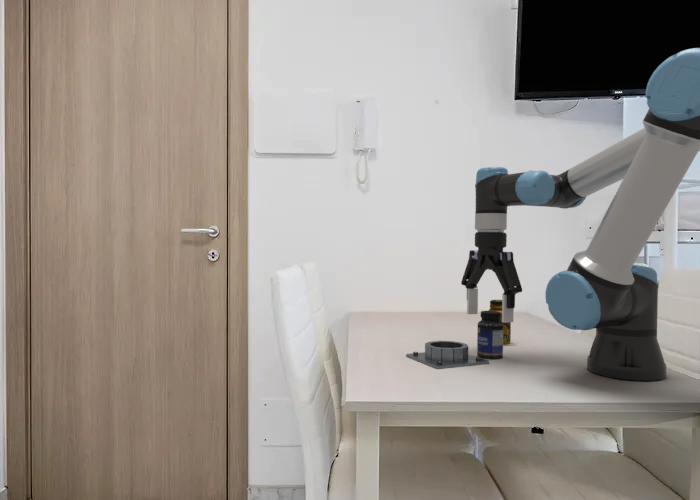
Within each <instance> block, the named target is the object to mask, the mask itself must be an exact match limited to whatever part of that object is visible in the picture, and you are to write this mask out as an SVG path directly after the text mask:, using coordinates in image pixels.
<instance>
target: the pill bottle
mask: <svg viewBox="0 0 700 500" xmlns="http://www.w3.org/2000/svg"><path fill="white" fill-rule="evenodd" d="M480 318H481V320H479V321H478V323H477V333H476V334H477V339H476V341H477V342H476V344H477V345H476V348H477V349H476V355H477V357H481V359H485V360H488V359H489V360H500V359H502V358H503V356H504V345H503V324H502V322H500V321H499V318H500V312H497V311H489V310H481V311H480Z"/></svg>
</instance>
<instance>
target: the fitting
mask: <svg viewBox="0 0 700 500" xmlns="http://www.w3.org/2000/svg"><path fill="white" fill-rule="evenodd" d="M405 356H406V358H409V359H412V360H413V361H417V362H420V363H422V364H424V365H426V366H429V367H431V368H434V369H437V370H439V369H440V370H441V369H448V368H458V367H469V366H479V365H487V364H490V361H489V360H488V359H486V358H481V357H479V356H475V355H471V354H469V345H468V344H467V343H464V342H460V341H451V340H432V341H431V340H430V341H428V342H425V343H424V351H423V352H418V351H413V352H412V353H406V354H405Z"/></svg>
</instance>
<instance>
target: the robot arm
mask: <svg viewBox="0 0 700 500" xmlns="http://www.w3.org/2000/svg"><path fill="white" fill-rule="evenodd" d="M646 84H647V85H646V87H645V88H646V89H645V98H646V104H647V107H648V110H647V112H646V113H645V116H644V118H643V120H642V124H643V128H641V129H640V130H637V131H636V132H634V133H633V134H630V135H628V136H627V137H625V138H623V139H622V140H620V141H618V142H616V143H614V144H612V145H610V146H609V147H606V148H605V149H603V150H602V151H599V152H598V153H596V154H594V155H593V156H590V157H589V158H587V159H585V160H584V161H582V162H579V163H577V164H576V165H574V166H573V167H571V168H569V169H567V170H565V171H563V172H562V173H560V174H556V175H555V174H549V173H548V172H547V171H545V170H527V171H524V172H516V173H509V171H508V169H507V168H506V167H503V166H488V167H487V166H486V167H480V168H478V170H477V171H476V174H475V175H476V178H475V185H474V187H475V188H474V189H475V211H474V212H475V213H474V215H475V216H474V229H475V231H477V232H475V233H474V246H475V248H478V249H477V250H476V249H475V250H472V249H471V250H469V254H468V260H467V264H466V267H465V270H464V273H463V276H462V279H461V282H460V283H461V286H465V288H466V301H467V303H466V304H467V305H466V314H467V315H478V308H479V306H478V304H479V289H478V286H477V285H478V284H479V283H480V280H481V279H482V277H483V276H484V274H485V272H486V271H490V270H491V272H493V273H494V274H495V276H496V277H497V279H498V282H499V283H500V286H501V288H502V289H503V292H502V296H501V297H502V299H501V300H502V322H503V323H507V322H511V323H514V309H515V306H516V304H515V303H516V294H518V293H522V292H523V288H522V284H521V281H520V277H519V274H518V271H517V268H516V265H515V262H514V252H512V251H504V248H506V247H507V239H508V238H507V237H508V236H507V235H508V234H507V233H506V232H505V231H506V230H507V227H508V225H507V224H508V223H507V222H508V221H507V220H508V218H507V217H508V207H517V206H518V207H519V206H530V207H547V208H549V207H550V208H559V209H563V210H564V209H573V208H577V207H580V206H581V205H582V204H583V203H584V201H586V199H587V197H588V196H590V195H592V194H595V193H596V192H599V191H600V190H603V189H606V188H607V187H609V186H611V185H614V184H615V183H618V182H619V181H620V182H621V183H620V185H619V187H618V188H617V190H616V192H615V194H614V196H613V197H612V200H611V201H610V204H609V206H608V208H607V209H606V212H605V214H604V216H602V217H603V218H602V219H601V222H600V223H599V225H598V227H597V229H596V231H595V232H594V235H593V237H592V238H591V241H590V242H589V244H588V246H587V248H586V249H585V250H583V251H582V250H581V251H579V252H576V253H575V254H574V256H573V257H572V260H571V261H570V263H569V265H568V267H567V269H566V270H562V271H559V272H558V273H555V274H554V275H553V276H552V277H550V279H549V280H548V282H547V285H546V287H545V303H546V305H547V306H548V307H547V308H548V311H549V313H550V315H551V316H552V318H553V319H554V320H555V321H556V322H557V323H558V324H559V325H561V326H562V327H564V328H566V329H569V330H572V331H573V330H574V331H591V330H593V329H595V337H594V339H593V342H592V344H591V347H590V351H589V355H587V359H586V369H587V370H588V371H589V372H591V373H593V374H596V375H600V376H602V377H608V378H613V379H620V380H625V381H642V382H643V381H647V382H648V381H659V380H663V379H664V380H665V379H666V378H667V376H668V375H667V370H668V369H667V364H666V362H665V359H664V355H663V353H662V349H661V347H660V343H659V341H658V305H659V304H658V301H659V297H658V295H659V294H658V293H659V288H660V287H659V283H658V274H657V271H656V270H655V269H654V268H652V267H650V266H644V265H638V264H635V263H636V261H637V260H638V258H639V255H640V254H641V252H642V251H643V248H644V247H645V245H646V243H647V242H648V240H649V238H650V236H651V235H652V233H653V231H654V230H655V228H656V226H657V224H658V223H659V221H660V220H661V218H662V216H663V214H664V212H665V211H666V209H667V208H668V205H669V204H670V202H671V199H673V196H674V194H675V193H676V191H677V189H678V188H679V186H680V184H681V182H682V181H683V179H684V177H685V176H686V174H687V172H688V170H689V168H690V167H691V165H692V163H693V161H694V160H695V158H696V156H697V154H699V153H698V152H700V47H693V48H688V49H684V50H681V51H679V52H677V53H675V54H673V55H671V56H669V57H667V58H666V59H665V60H664V61H662V63H660V64H659V65H658V66H657V68H656V69H655V70H654V71H653V72H652V74H651V76H650V78H649V79H648V82H647V83H646ZM621 180H622V181H621Z"/></svg>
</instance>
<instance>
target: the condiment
mask: <svg viewBox="0 0 700 500" xmlns="http://www.w3.org/2000/svg"><path fill="white" fill-rule="evenodd" d="M488 311H497V312H500V318H499V321H500V322H502V299H491V300H490V301H489V309H488ZM502 324H503V346H517V345H516V343H512V342H511V341H512V340H511V337H512V336H511V334H512V332H511V331H512V330H511V328H512V327H511V326H512V325H511V324H512V322H507V323H503V322H502Z"/></svg>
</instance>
